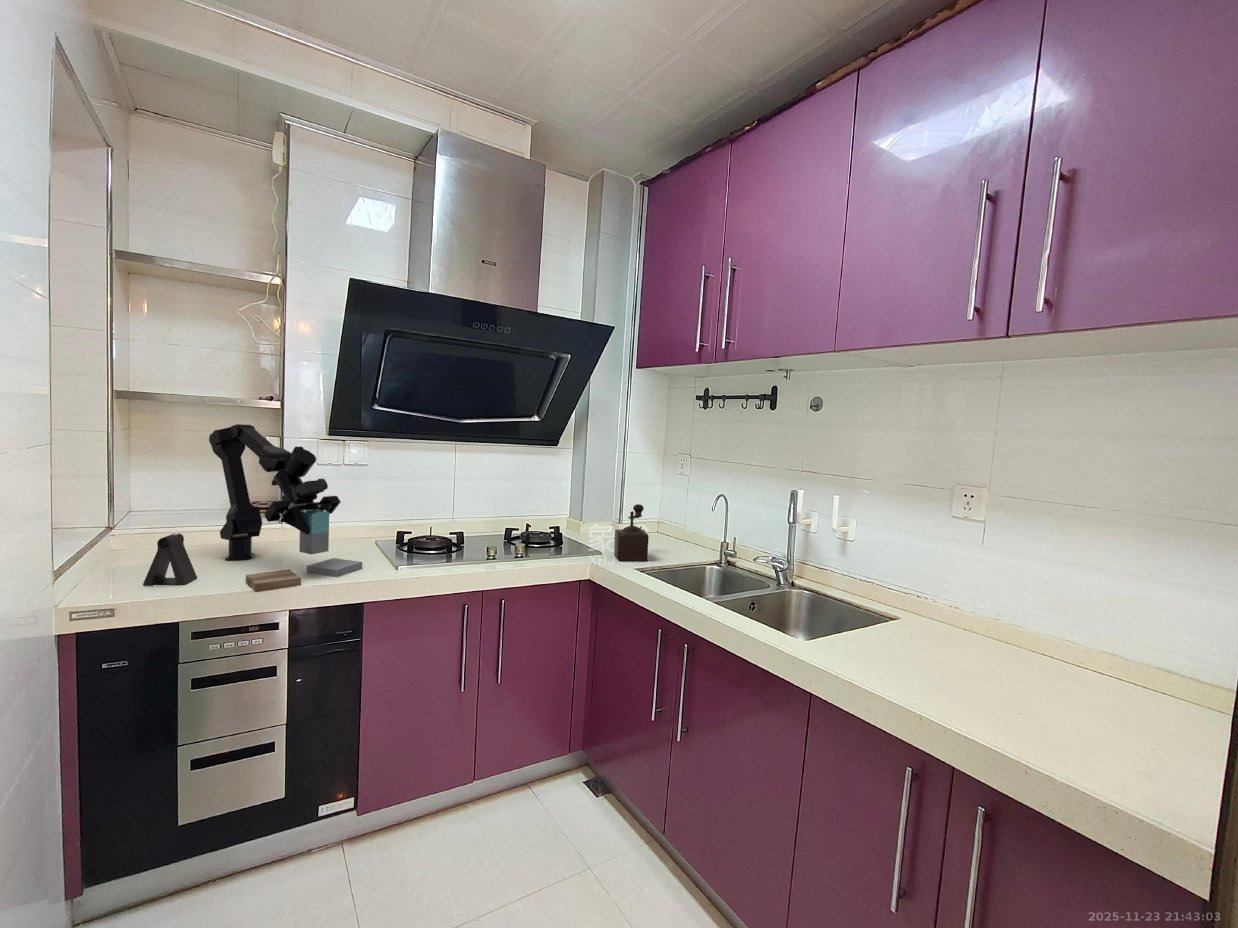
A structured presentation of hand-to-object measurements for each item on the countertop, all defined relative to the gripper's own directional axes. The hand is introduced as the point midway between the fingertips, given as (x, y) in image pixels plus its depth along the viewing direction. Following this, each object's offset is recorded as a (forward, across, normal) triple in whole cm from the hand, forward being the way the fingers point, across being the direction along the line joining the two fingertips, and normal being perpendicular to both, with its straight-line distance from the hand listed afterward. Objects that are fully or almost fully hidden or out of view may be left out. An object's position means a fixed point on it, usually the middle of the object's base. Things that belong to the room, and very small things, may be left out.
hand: (317, 532), depth 149 cm
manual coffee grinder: (+50, +78, -32) cm, 98 cm away
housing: (+3, 0, +5) cm, 6 cm away
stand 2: (+7, +7, +10) cm, 14 cm away
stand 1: (+7, -10, +11) cm, 16 cm away
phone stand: (-7, -23, +25) cm, 35 cm away
